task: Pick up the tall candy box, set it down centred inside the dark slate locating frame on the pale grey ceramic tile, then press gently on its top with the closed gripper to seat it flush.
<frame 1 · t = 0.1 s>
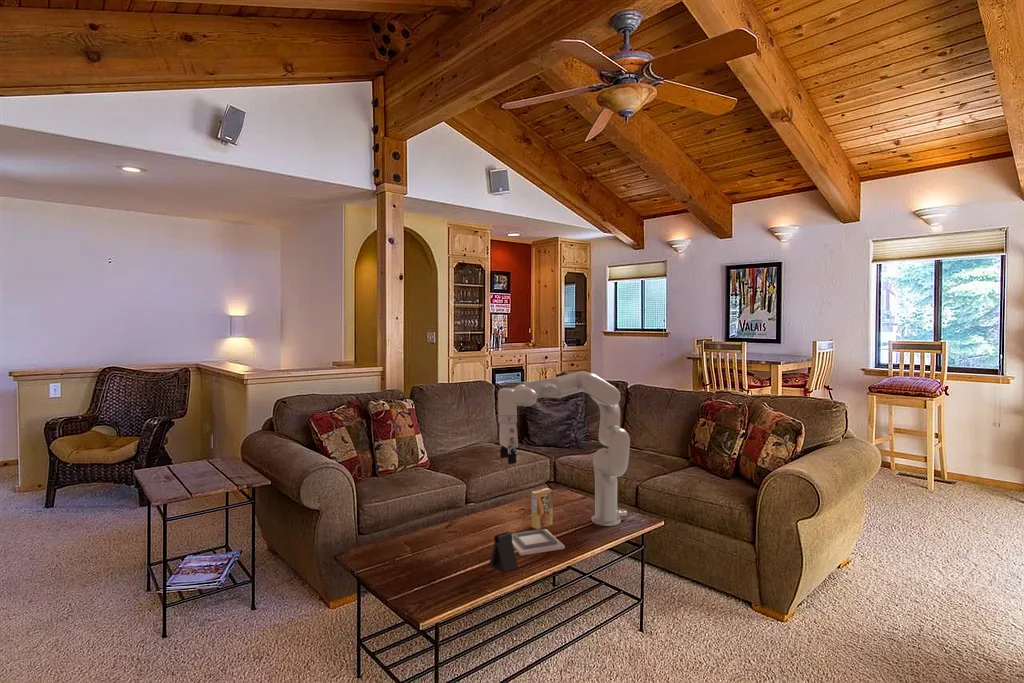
hand: (508, 460, 239), 31 cm above the table, fingers open, 9 cm apart
tile: (534, 543, 232), on the table
candy box: (542, 526, 251), on the table
phone stand: (503, 566, 212), on the table
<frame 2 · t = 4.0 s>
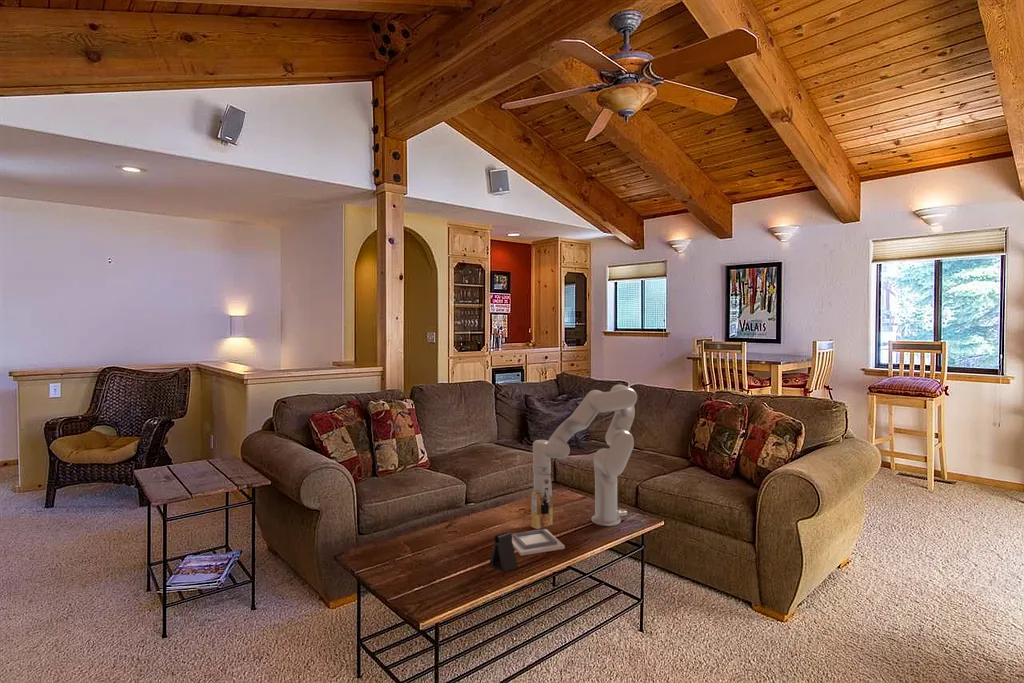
hand: (542, 510, 250), 7 cm above the table, fingers closed on candy box, 5 cm apart
candy box: (542, 526, 251), on the table, touching gripper
everything else where it was.
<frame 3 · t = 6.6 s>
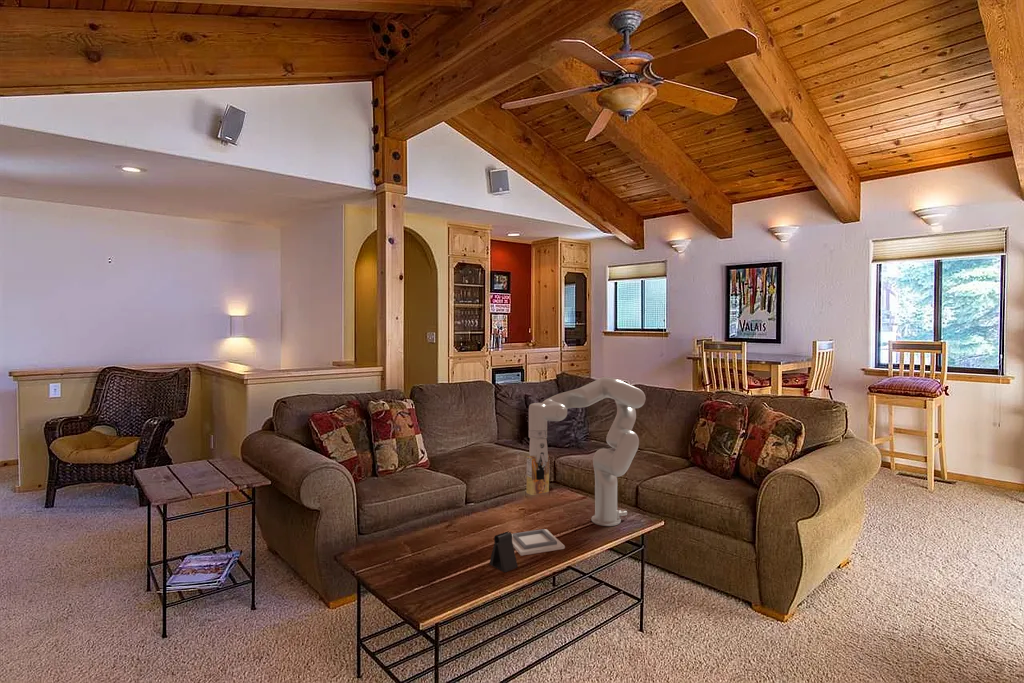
hand: (537, 477, 241), 24 cm above the table, fingers closed on candy box, 5 cm apart
candy box: (537, 493, 241), point 17 cm above the table, touching gripper
everything else where it was.
when the fingers open (9 cm above the table, at t = 9.5 s): candy box stays where it is, resting on tile.
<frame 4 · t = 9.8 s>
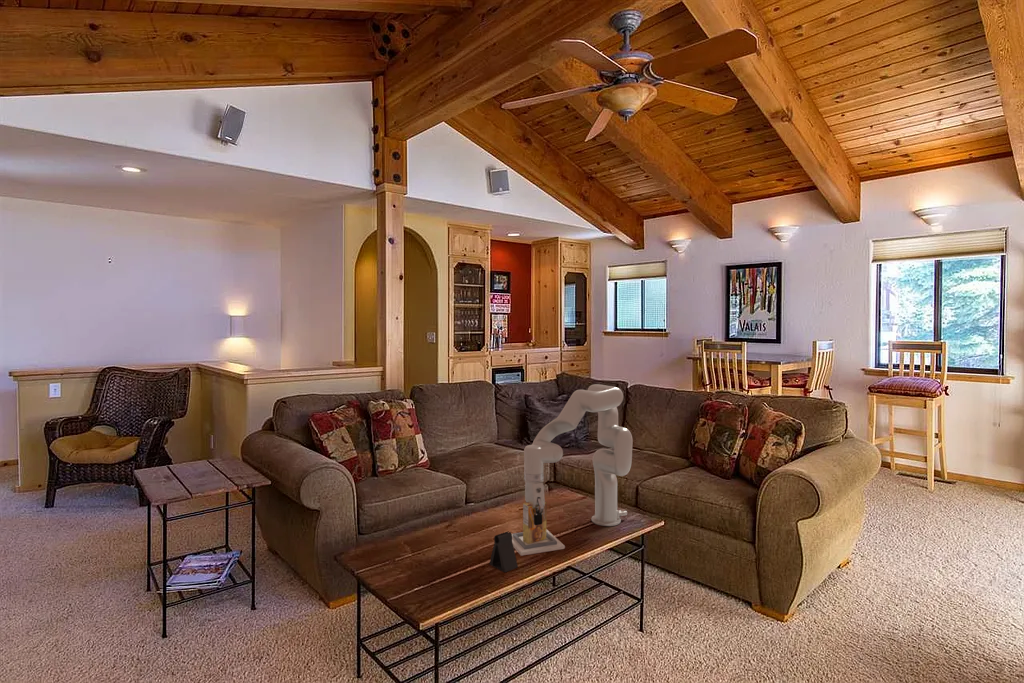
hand: (534, 520, 232), 9 cm above the table, fingers open, 7 cm apart
candy box: (534, 540, 232), point 1 cm above the table, touching tile
everything else where it was.
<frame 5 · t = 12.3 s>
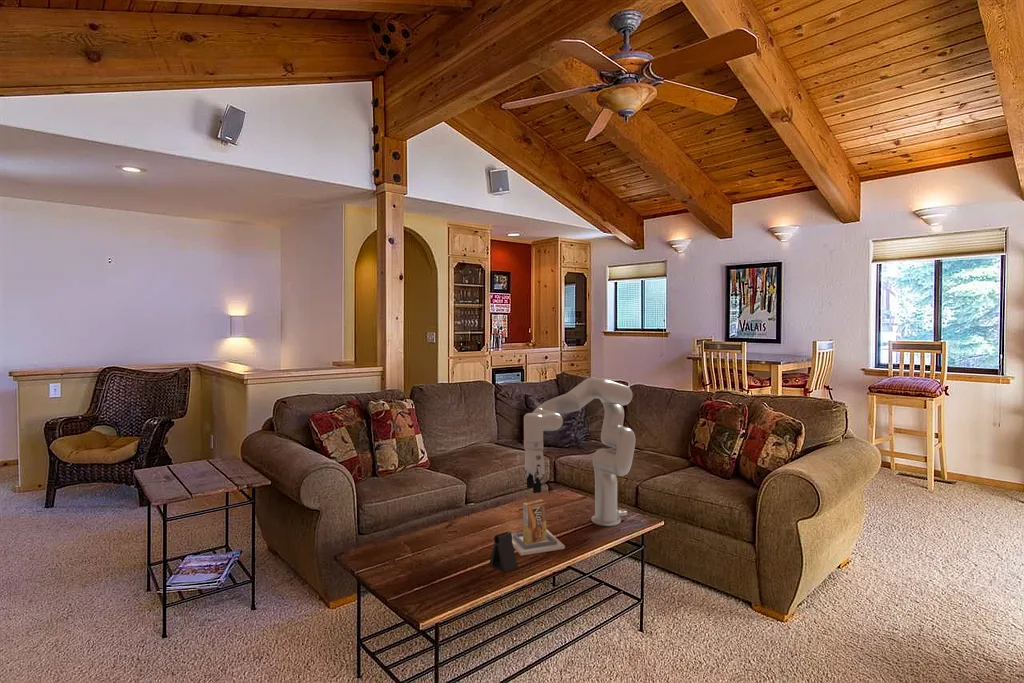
hand: (533, 489, 231), 22 cm above the table, fingers open, 5 cm apart
nothing on the table moved.
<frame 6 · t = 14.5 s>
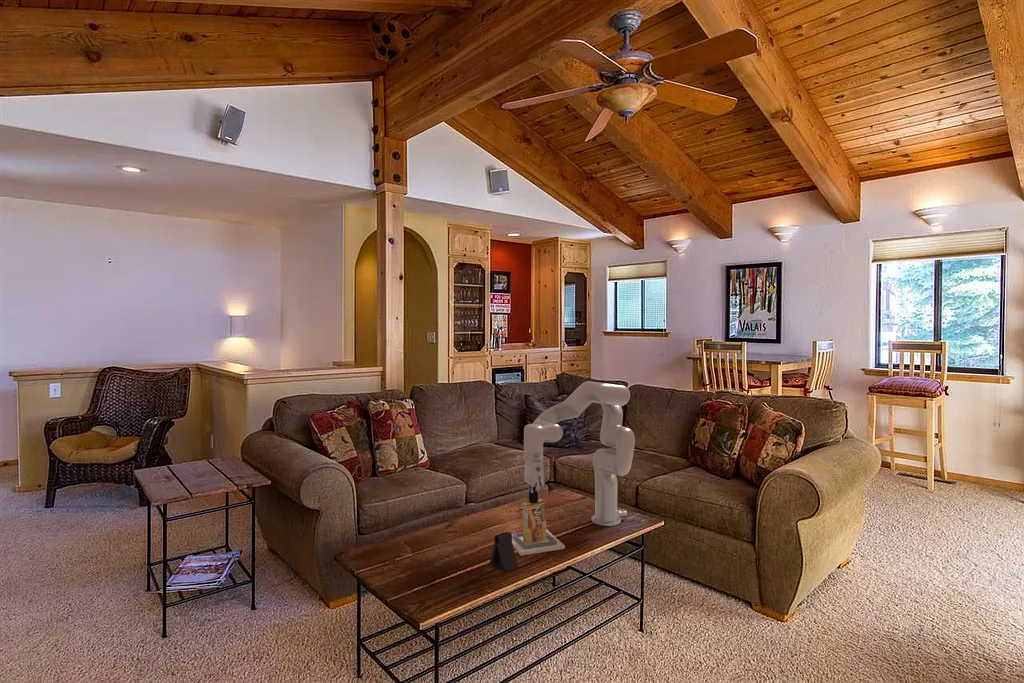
hand: (533, 502, 231), 17 cm above the table, fingers closed
candy box: (534, 540, 232), point 1 cm above the table, touching gripper, tile
everything else where it was.
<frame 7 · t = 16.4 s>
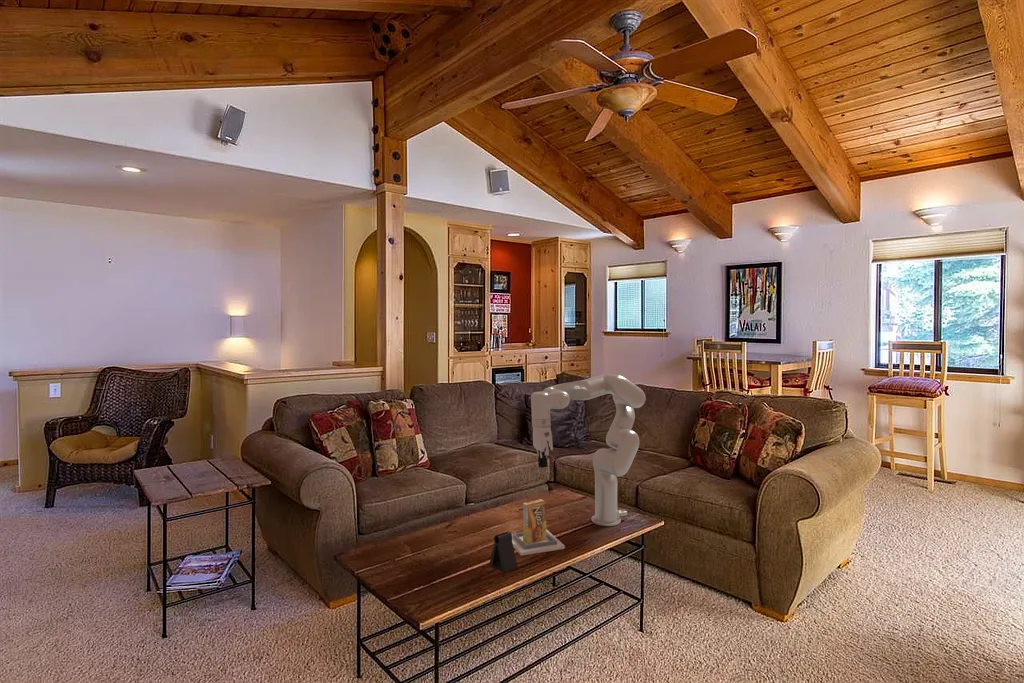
hand: (542, 466, 239), 28 cm above the table, fingers closed
candy box: (534, 540, 232), point 1 cm above the table, touching tile
everything else where it was.
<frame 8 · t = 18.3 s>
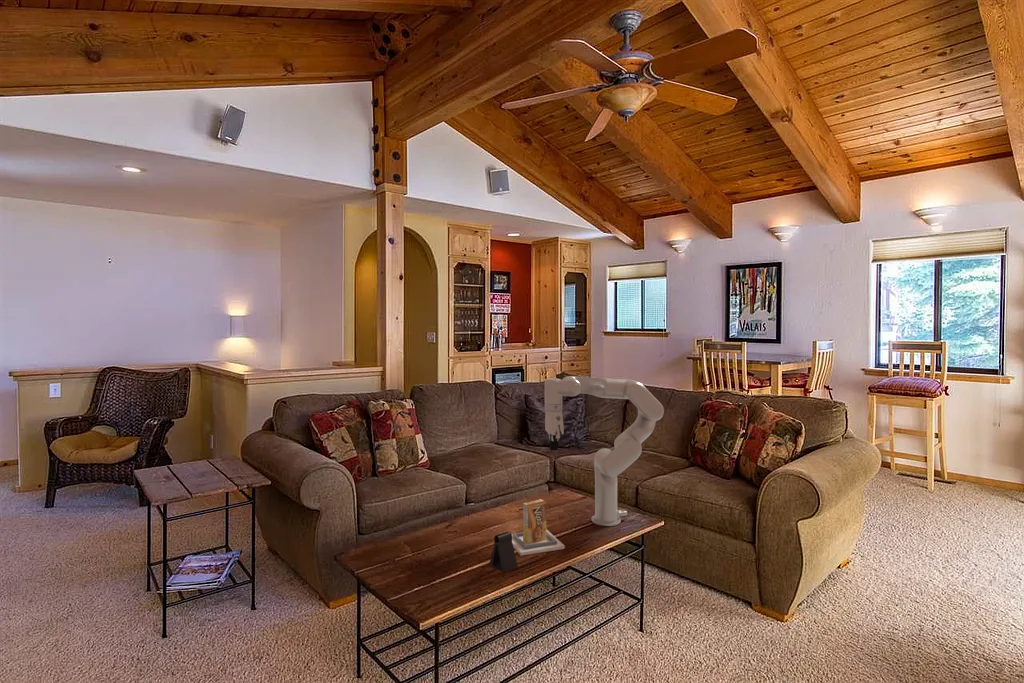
hand: (553, 449, 252), 32 cm above the table, fingers closed
nothing on the table moved.
at the end: candy box 0.2 cm off-centre on the tile, point 1.0 cm above the tile's base; candy box tilted 0°; the gripper is holding nothing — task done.
